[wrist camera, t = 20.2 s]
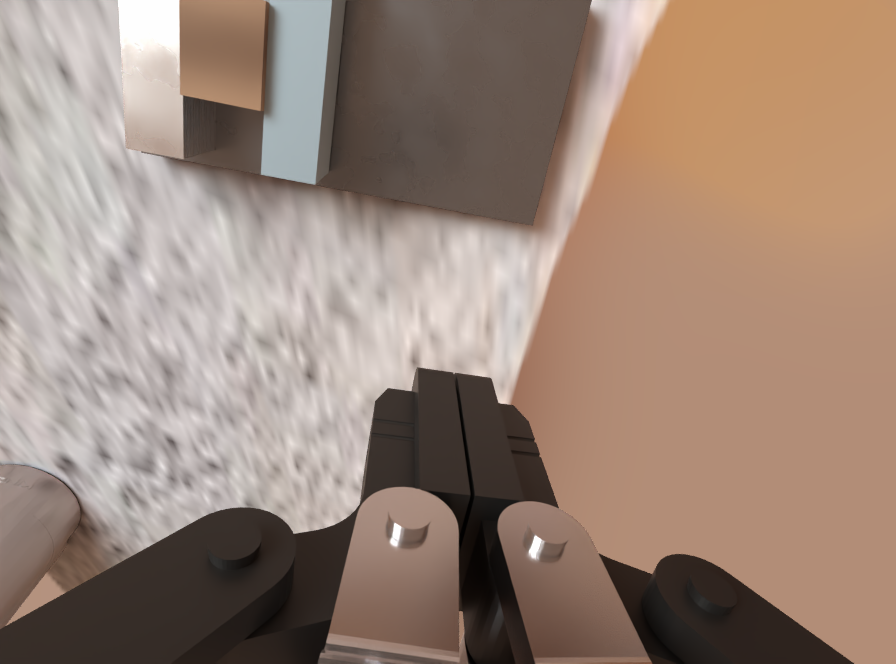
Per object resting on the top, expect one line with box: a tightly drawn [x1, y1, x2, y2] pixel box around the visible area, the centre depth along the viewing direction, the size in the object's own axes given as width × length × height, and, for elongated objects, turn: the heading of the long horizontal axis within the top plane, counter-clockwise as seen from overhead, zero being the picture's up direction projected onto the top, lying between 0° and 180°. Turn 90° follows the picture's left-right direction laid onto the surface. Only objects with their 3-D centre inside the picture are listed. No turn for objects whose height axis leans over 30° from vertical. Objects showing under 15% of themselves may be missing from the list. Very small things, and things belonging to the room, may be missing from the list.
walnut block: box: [179, 0, 269, 111], centre depth 29 cm, size 5×4×6 cm
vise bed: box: [118, 0, 592, 225], centre depth 31 cm, size 14×26×7 cm, turn 79°
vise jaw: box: [261, 0, 346, 185], centre depth 29 cm, size 12×3×5 cm, turn 169°
